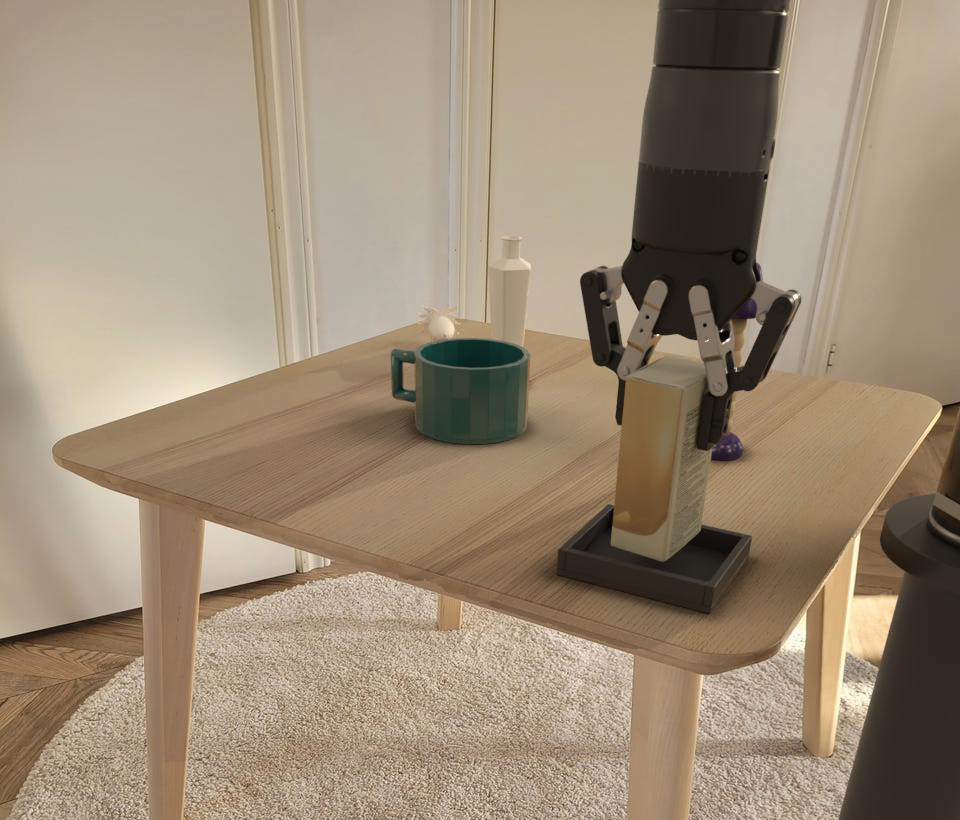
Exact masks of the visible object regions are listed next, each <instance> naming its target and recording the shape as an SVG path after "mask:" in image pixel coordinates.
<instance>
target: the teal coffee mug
mask: <svg viewBox="0 0 960 820" xmlns="http://www.w3.org/2000/svg"><path fill="white" fill-rule="evenodd" d="M404 363H405V364H409V365H410V364H411V365H413V371H414V373H413V374H414V376H413V377H414V379H413V380H414V381H413V382H414V389H409V388H405V385H404ZM530 372H531V353H530V352H529V350H528V349H527V348H525V347H524V346H523V347H521V346H519V345H516V344H513V343H509V342H506V341H499V340H493V339H492V338H482V337H481V338H480V337H478V338H477V337H456V338H452V339H445V340H439V341H436V340H435V341H434V342H430V341H429V342H427V343H424V344H422V345H419V346H417V348H416V349H415V350H409V349H403V348H398V347H397V348H393V349H392V350H391V351H390V375H391V376H390V380H391V384H390V385H391V397H392V398H393V399H394V400H396V401H397V400H398V401H401V402H402V401H403V402H408V403H414V420H415V427H416V429H417V431H418V432H419V433H421V434H422V435H424V436H426V437H428V438H430V439H433V440H437V441H440V442H444V443H451V444H459V445H488V444H496V443H503V442H506V441H510V440H513V439H515V438H517V437H519V436H521V435H522V434H524V433H525V431H526V429H527V425H528V419H529V417H528V415H529V394H530V375H531V373H530Z"/></svg>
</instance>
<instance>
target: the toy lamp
mask: <svg viewBox="0 0 960 820" xmlns="http://www.w3.org/2000/svg"><path fill="white" fill-rule="evenodd" d="M756 264H757V268H758V271H759V273H760V281H762V282H764V279H763V271H762V266H761V265H760V263H759V262H756ZM756 310H757V306H756V303H755V301H754V300H753V299H750V300H749V301H748V302H747V303H746V305H745V306H744V307H743V308H742V309H741V310H740V311H739V312H738V313H737V314H736V315H735V316H734V317H733V318H732V326H733V332H734V338H735V347H734V354H735V360H736V366H737V367H740V366H741V364H742V361H743V352H742V349H743V348H744V345H745V341H746V340H745V339H746V338H745V332H744V331H745V330H746V328H747V325H748V320H755V319H756V317H755V314H756ZM737 396H738V391H736V392H734V393H733V397H732V404H731V410H730V416H729V422H728V429H727V432H726V434H725V435H724V437H723V438H722V439H721V440H720V441H719V442H718V443H717V444H715V445H714V446H713V448H712V455H711V460H717V461H733V460H736V459H739V458H740V457H742V456H743V454H744V448H743V443H742V441H741V439H740V437H739V436H738V435H736V434H735V433H733V432H732V430H733V425H734V422H733V418H732V417H733V416H734V414H735V412H736V411H735V409H736V404H735V399H737Z"/></svg>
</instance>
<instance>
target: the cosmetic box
mask: <svg viewBox="0 0 960 820" xmlns="http://www.w3.org/2000/svg"><path fill="white" fill-rule="evenodd" d="M707 392H709V387H708V381H707V375H706V370H705V364H704V361H702V360H698V359H692V358H687V357H682V356H675V355H670V354H665V355H664V356H662V357H660V358H657V359H655V360H653V361H651V362H650V363H648V365H646V366H644V367H642V368H640V369H639V370H637V371H635V372H633V373H632V374H630V375H628V376H626V385H625V396H624V407H623V418H622V426H621V429H620V440H619V452H618V463H617V472H616V483H615V492H614V493H615V494H614V495H615V496H614V504H613V505H614V514H613V524H612V534H611V546H613V547H616V548H619V549H623V550H626V551H629V552H632V553H635V554H639V555H642V556H645V557H648V558H652V559H655V560H658V561H661V562H664V561H666V560H668V559H669V558H670V557H672V556H673V555H674V554H675V553H676V552H678V551H679V550H680V549H681V548H682V547H683V546H685V545H686V544H687V543H688V542H689V541H690V540H691V539H692V538H694V537H695V536H696V535H697V534H698V533H699V532H700V531H701V525H703V518H704V510H705V504H706V502H705V501H706V498H707V497H706V496H707V489H708V483H709V482H708V481H709V475H710V468H711V463H712V462H711V460H712V459H711V455H712V448H713V447H712V448H711V449H710V450H709V451H704V450H699V449H697V441H698V434H699V427H700V420H701V413H702V406H703V399H704V395H705V394H706V393H707Z"/></svg>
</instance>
